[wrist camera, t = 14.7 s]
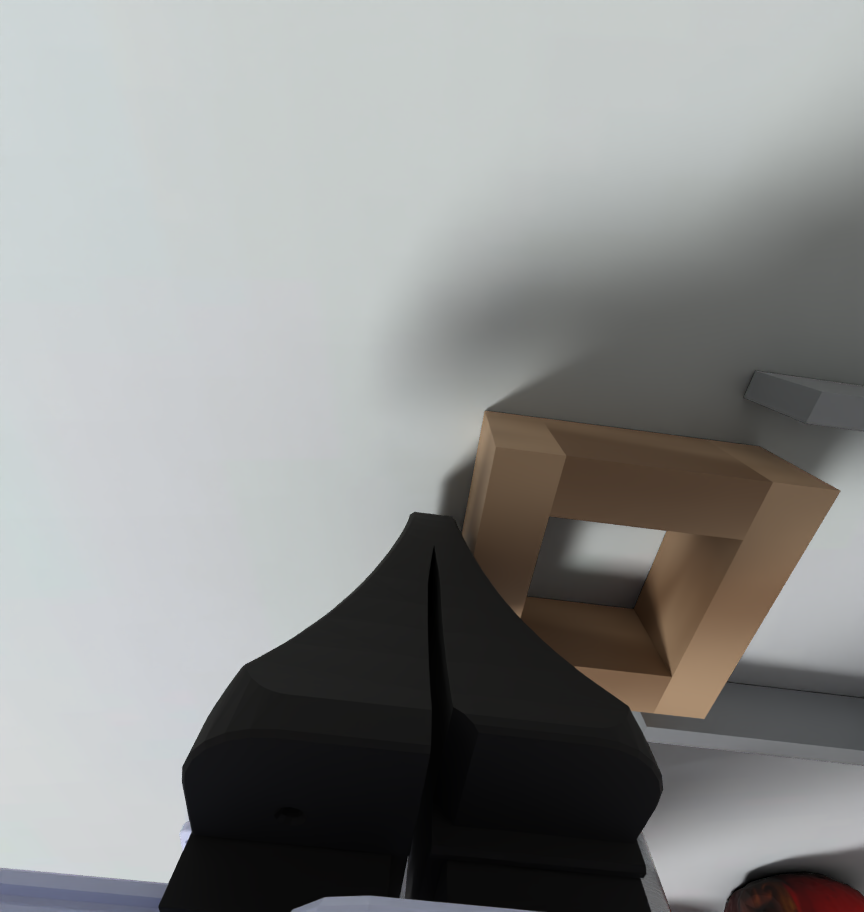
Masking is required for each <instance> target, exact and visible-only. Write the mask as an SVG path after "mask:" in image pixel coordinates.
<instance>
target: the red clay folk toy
mask: <svg viewBox="0 0 864 912" xmlns="http://www.w3.org/2000/svg"><path fill="white" fill-rule="evenodd" d="M724 912H864V896H863V895H862V894H861V893H860V892H859V891H857V890H855V889H854V888H852V887H850V886H849V885H847V884H843V883H841V882H838V881H836V880H834V879H832V878H830V877H827V876H824V875H821V874H812V873H807V872H804V873H795V874H781V875H776V876H770V877H768V878H764V879H760V880H756V881H752V882H750V883H747V885H746V886H745V887H744V888H742V889H739V890H736V891H735V892H734V893H733V894H732V896H731V897H730V898H729V902H728V903H727V902H726V907H725V910H724Z"/></svg>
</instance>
